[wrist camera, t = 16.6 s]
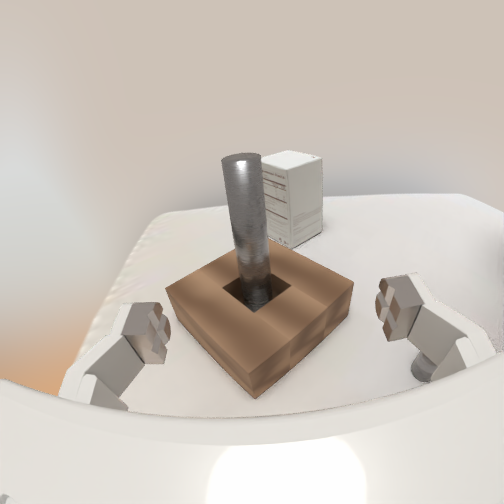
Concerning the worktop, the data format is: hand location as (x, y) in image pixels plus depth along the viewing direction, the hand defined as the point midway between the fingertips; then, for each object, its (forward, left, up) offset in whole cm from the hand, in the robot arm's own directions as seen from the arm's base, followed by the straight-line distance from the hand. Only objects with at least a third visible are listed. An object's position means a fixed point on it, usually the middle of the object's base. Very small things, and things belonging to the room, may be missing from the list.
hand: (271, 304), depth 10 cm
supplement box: (-24, -21, -17) cm, 36 cm away
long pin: (-8, -11, -16) cm, 21 cm away
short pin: (-14, +7, -17) cm, 23 cm away
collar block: (-8, -11, -16) cm, 21 cm away
